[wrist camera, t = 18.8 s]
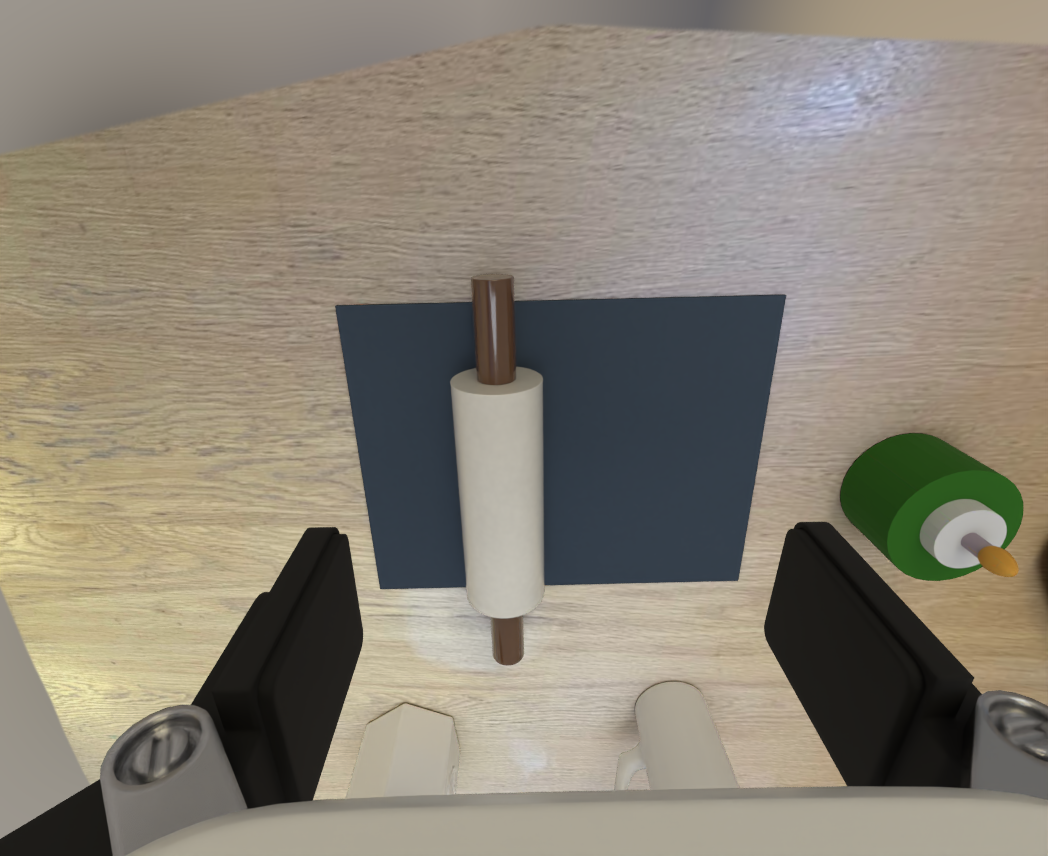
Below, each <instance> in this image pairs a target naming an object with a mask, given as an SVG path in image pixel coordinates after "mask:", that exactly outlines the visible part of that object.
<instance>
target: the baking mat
mask: <svg viewBox="0 0 1048 856" xmlns="http://www.w3.org/2000/svg"><path fill="white" fill-rule="evenodd" d="M785 299H786V295H751V296H709V297H667V298H625V299H583V300H541V301H514V302H515V338H516V367H523V368H527V369H531V370H534V371H536V372H538V373H539V374H541V375H542V377H543V425H544V573H545V585H575V584H617V583H659V582H701V581H738V579H739V573H740V567H741V561H742V555H743V549H744V543H745V537H746V531H747V525H748V519H749V513H750V507H751V501H752V495H753V489H754V483H755V477H756V471H757V465H758V460H759V454H760V448H761V442H762V436H763V430H764V424H765V418H766V412H767V406H768V400H769V394H770V388H771V382H772V376H773V370H774V364H775V358H776V352H777V346H778V340H779V334H780V329H781V323H782V317H783V311H784V305H785ZM335 308H336V314H337V320H338V326H339V333H340V339H341V345H342V352H343V358H344V364H345V370H346V377H347V383H348V389H349V396H350V402H351V408H352V414H353V421H354V427H355V433H356V439H357V446H358V452H359V458H360V465H361V471H362V477H363V483H364V490H365V496H366V502H367V509H368V515H369V521H370V527H371V534H372V540H373V546H374V553H375V559H376V565H377V571H378V578H379V584H380V589H408V588H450V587H466V578H465V566H464V553H463V540H462V528H461V515H460V502H459V490H458V477H457V464H456V452H455V439H454V426H453V414H452V401H451V388H450V381H451V379H452V377H454V376H455V375H457V374H458V373H461V372H463V371H466V370H470V369H474V368H476V358H475V341H474V324H473V307H472V302H457V303H415V304H373V305H336V306H335Z"/></svg>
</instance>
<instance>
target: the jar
mask: <svg viewBox="0 0 1048 856" xmlns="http://www.w3.org/2000/svg"><path fill="white" fill-rule="evenodd" d="M459 760H460V748H459V743H458V739H457V734H456V730H455V726H454V721H453V718H452V717H450V716H447V715H443V714H440V713H437V712H433V711H430V710H427V709H423V708H420V707H417V706H413V705H410V704H407V703H404V704H402V705H401V706H399V707H397V708H395V709H393V710H392V711H390V712H388V713H386V714H385V715H383V716H381V717H379V718H377V719H376V720H374V721H372V722H370V723H369V724H367V725H366V728H365V732H364V735H363V739H362V742H361V746H360V749H359V753H358V756H357V760H356V763H355V767H354V771H353V774H352V778H351V781H350V785H349V788H348V792H347V795H346V799H349V798H371V797H393V796H417V795H454V794H456V789H457V780H458V770H459Z"/></svg>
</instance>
